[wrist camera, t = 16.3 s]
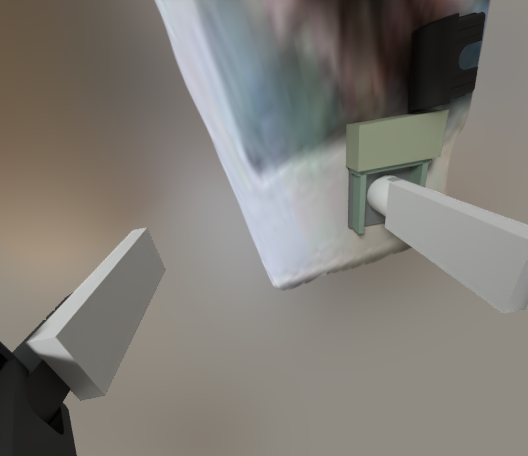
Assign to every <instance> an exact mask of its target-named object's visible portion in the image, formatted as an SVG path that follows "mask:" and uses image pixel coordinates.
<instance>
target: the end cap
mask: <svg viewBox="0 0 528 456" xmlns="http://www.w3.org/2000/svg"><path fill="white" fill-rule="evenodd" d="M484 21H485V13H484V12H480V13H472V14H468V15H465V16H461V17H459V13H456V14H453V15H450V16H447V17H444V18H441V19H439V20H436V21H434V22H431V23H429V24H426V25H424V26H422V27H420V28H418V29H416V30H414V31H413V33H412V40H411V69H410V98H409V109H411V110H418V109H425V108H431V107H436V106H440V105H444V104H448V103H450V99H453V98H456V97H460V96H463V95H465V94H467V93H470V92H472V91H473V90H474V88H475V82H476V76H477V69H478V67H474V68H471V69H467V70H463V69H461V68H460V67H459V63H458V60H459V56H460V53H461V51H462V50H463V49H464V48H465V47H466V46H467V45H468V44H471V43H475V42H478V41H481V40H482V35H483V28H484Z"/></svg>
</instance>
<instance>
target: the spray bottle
mask: <svg viewBox="0 0 528 456" xmlns="http://www.w3.org/2000/svg"><path fill="white" fill-rule="evenodd" d="M400 180H404V179H401V178H398V177H395V176H392V175H385V176H382V177H380V178H378V179H377V180H375V181H374V182H373V183H372V184H371V186H370V187H369V189H368V192H367V201H368V203H369V205H370V206H371V207H372V208H373V209H375V210H376V211H378V212H379V213H381V214H383V215H384V216H386V209H387V198H388V187H389V182H394V181H400ZM404 181H407V180H404ZM407 182H409V181H407ZM410 183H412V182H410ZM413 184H415V183H413ZM415 185H418V184H415ZM418 186H421V185H418ZM421 187H424V186H421ZM424 188H426V187H424ZM426 189H429V188H426ZM429 190H432V189H429ZM432 191H435V190H432ZM435 192H438V191H435ZM438 193H440V192H438ZM440 194H443V193H440ZM443 195H444V194H443Z"/></svg>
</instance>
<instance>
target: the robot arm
mask: <svg viewBox="0 0 528 456" xmlns="http://www.w3.org/2000/svg"><path fill="white" fill-rule="evenodd" d="M385 228H386V229H387V230H389V231H390V232H392V233H393V234H394V235H396V236H397V237H398V238H400V239H401V240H403V241H404V242H405V243H407V244H408V245H409V246H411V247H412V248H414V249H415V250H417V251H418V252H419V253H421V254H422V255H423V256H425V257H426V258H427V259H429V260H430V261H431V262H433V263H434V264H436V265H437V266H438V267H440V268H441V269H443V270H444V271H445V272H447V273H448V274H449V275H451V276H452V277H454V278H455V279H456V280H458V281H459V282H461V283H462V284H463V285H464V286H466V287H467V288H469V289H470V290H471V291H473V292H474V293H475V294H477V295H478V296H480V297H481V298H483V299H484V300H485V301H486V302H488V303H489V304H491V305H492V306H493V307H495V308H496V309H498V310H499V311H501V312H502V313H508V312H513V311H518V310H523V309H525V308H526V306H527V304H528V225H526V224H524V223H521V222H518V221H515V220H512V219H510V218H507V217H504V216H501V215H499V214H496V213H493V212H490V211H487V210H485V209H482V208H479V207H476V206H474V205H471V204H468V203H465V202H463V201H460V200H457V199H454V198H451V197H448V196H446V195H443V194H440V193H438V192H435V191H432V190H429V189H426V188H424V187H421V186H418V185H415V184H413V183H410V182H407V181H404V180H400V181H394V182H389V187H388V198H387V209H386V219H385ZM164 272H165V267H164V265H163V263H162V260H161V258H160V256H159V253H158V251H157V249H156V247H155V244H154V242H153V240H152V237H151V235H150V233H149V230H148V228H142V229H137V230H132V232H131V233H130V234H129V235H128V236H127V237H126V238H125V239H124V240H123V241H122V242H121V243H120V244H119V245H118V246H117V247H116V248H115V249H114V250H113V252H112V253H111V254H110V255H109V256H108V257H107V258H106V259H105V260H104V261H103V262H102V263H101V264H100V265H99V266H98V267H97V268H96V270H94V272H93V273H92V274H91V275H90V276H89V277H88V278H87V279H86V280H85V281H84V282H83V283H82V284H81V285H80V286H79V287H78V288H77V289H76V290H75V291H74V292H73V293H71V294H70V295H69V296H67V297H66V298H65V299H64V300H63V301H62V302H61V303H60V304H59V305H58V306H57V307H56V308H55V311H52V312H51V313H50V314H49V315H48V316H47V317H46V320H43V321H42V322H41V323H40V324H39V326H38V327H37V328H36V329H35V330H34V331H33V332H32V333H31V334H30V335H29V336H28V337H27V338H26V339H25V340H24V341H23V342H22V343H21V344H20V345H19V346H18V347H17V348H16V349H15V350H14V351H13V352H11V351H10V350H8V349H7V347H5V346H4V345H3V344H2V343H1V342H0V456H77V455H76V449H75V444H74V438H73V433H72V427H71V421H70V416H69V410H68V408H67V407H66V405H65V404H64V403H63V401H64V399H65V397H66V396H67V394H68V393H69V391H70V390H71V391H72V392H73V393H74V394H75V395H76V396H77V397H78V399H79V400H80V401H81V400H85V399H91V398H96V397H100V396H105V394H106V392H107V390H108V388H109V386H110V384H111V382H112V380H113V378H114V376H115V374H116V372H117V370H118V367H119V365H120V363H121V361H122V359H123V357H124V355H125V353H126V351H127V349H128V346H129V345H130V343H131V340H132V338H133V336H134V334H135V332H136V330H137V328H138V326H139V324H140V322H141V320H142V318H143V316H144V313H145V311H146V309H147V307H148V305H149V303H150V301H151V299H152V297H153V295H154V293H155V291H156V289H157V286H158V284H159V282H160V280H161V278H162V276H163V274H164Z"/></svg>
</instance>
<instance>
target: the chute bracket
mask: <svg viewBox="0 0 528 456" xmlns="http://www.w3.org/2000/svg"><path fill="white" fill-rule="evenodd" d="M448 113H449V109H447V110H428V111H421V112H416V113H410V114H405V115H399V116H393V117H388V118H382V119H377V120H371V121H365V122H360V123H354V124H349V125H346V167H348V168H349V198H348V227H349V228H350V229H353V230H355V231H356V232H357V233H358V234H364V226H367V225H373V224H378V223H383V222H385V219H386V216H384V215H383V214H381V213H379V212H378V211H376V210H375V209H373V208H372V207H371V206H370V205H369V203H368V201H367V192H368V189H369V187H370V186H371V184H372V183H373V182H374V181H375V180H377V179H378V178H380V177H382V176H385V175H392V176H395V177H398V178H401V179H404V180H407V181H409V182H412V183H415V184H418V185H421V186H424V187H425V183H426V177H427V171H428V165H429V163H431V162H432V158H436V157H440V156H441V151H442V145H443V140H444V135H445V129H446V124H447V119H448Z"/></svg>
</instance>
